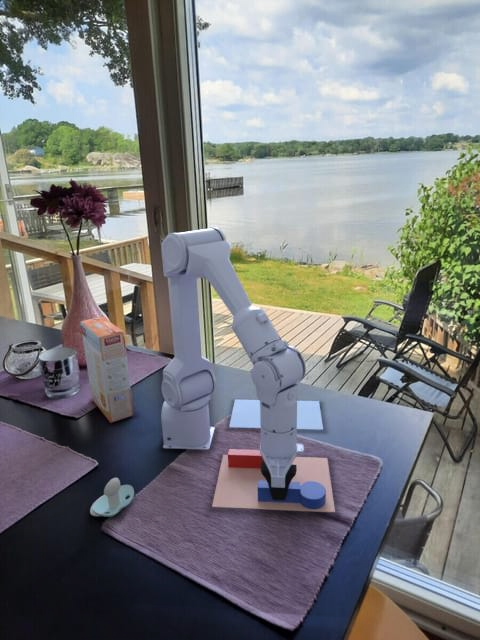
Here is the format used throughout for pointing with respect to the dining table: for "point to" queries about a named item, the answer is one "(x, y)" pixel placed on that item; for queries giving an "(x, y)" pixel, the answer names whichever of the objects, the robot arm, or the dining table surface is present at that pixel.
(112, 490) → the pacifier
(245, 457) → the red spoon
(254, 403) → the blue mat
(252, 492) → the rose mat
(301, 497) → the blue spoon
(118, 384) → the cracker box
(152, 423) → the dining table surface
